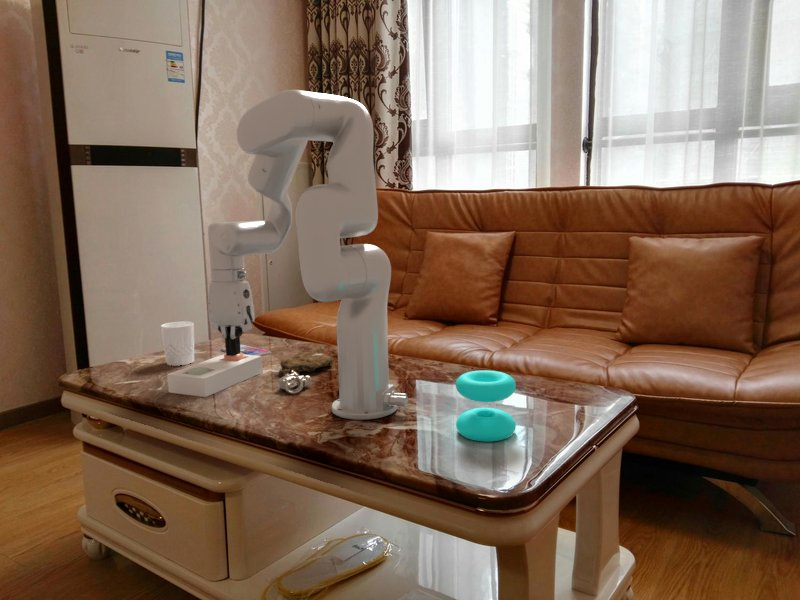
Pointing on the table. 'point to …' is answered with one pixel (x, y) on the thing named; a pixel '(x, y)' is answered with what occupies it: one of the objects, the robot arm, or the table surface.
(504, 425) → the donuts
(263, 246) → the robot arm
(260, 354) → the smartphone
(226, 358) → the terracotta button
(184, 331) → the white cup
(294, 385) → the ornament
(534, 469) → the table surface
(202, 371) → the sage button
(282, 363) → the decorative rock
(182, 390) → the button box
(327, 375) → the table surface
